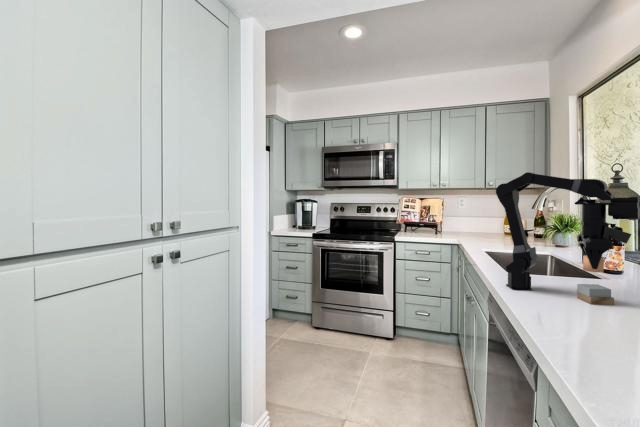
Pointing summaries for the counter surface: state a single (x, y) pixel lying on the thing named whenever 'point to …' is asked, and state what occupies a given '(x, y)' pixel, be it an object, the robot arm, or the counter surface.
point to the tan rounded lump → (588, 266)
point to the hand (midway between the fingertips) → (593, 267)
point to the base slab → (596, 299)
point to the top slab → (593, 290)
